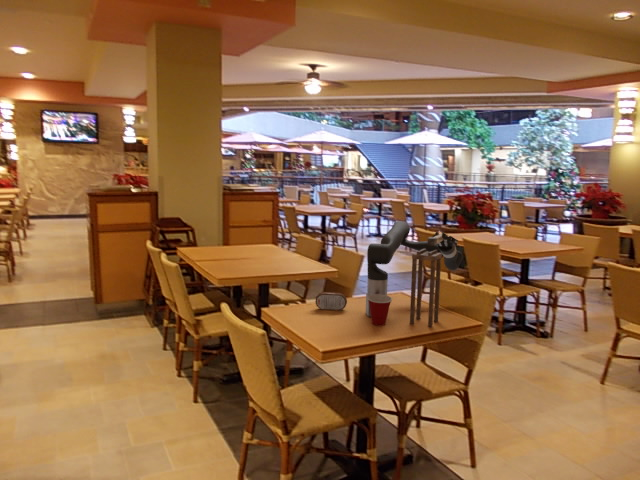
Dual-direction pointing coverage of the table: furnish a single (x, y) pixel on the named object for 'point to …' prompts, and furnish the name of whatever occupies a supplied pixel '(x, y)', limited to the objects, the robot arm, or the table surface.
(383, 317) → the plastic cup
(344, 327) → the table surface
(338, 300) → the tin
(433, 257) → the walnut stand
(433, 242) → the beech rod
